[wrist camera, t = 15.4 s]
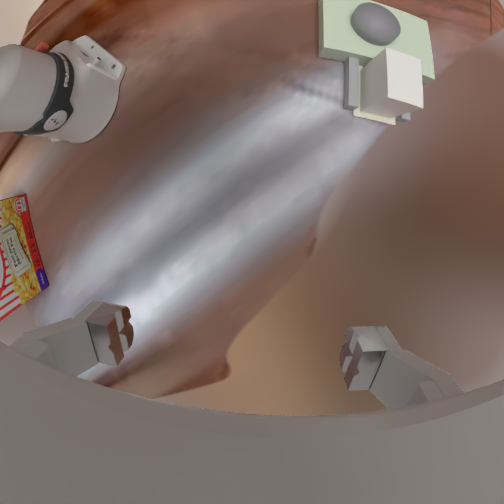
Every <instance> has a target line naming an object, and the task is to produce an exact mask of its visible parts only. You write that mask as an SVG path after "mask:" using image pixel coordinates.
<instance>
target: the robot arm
mask: <svg viewBox="0 0 504 504" xmlns="http://www.w3.org/2000/svg"><path fill="white" fill-rule="evenodd" d="M48 48H49V46H48V44H47V43H45V42H43V41H41V42H40V43H39V44H38V46H37V47H36V48H35V49H34V50H32V49H29V48H26V47H23V46H20V45H16V44H11V45H7V46H4V47H1V48H0V132H15V133H17V134H23V135H34V136H39V137H45V138H50V140H51V141H52V142H61V141H64V140H65V141H69V142H72V143H83V142H86V141H89V140H91V139H92V138H94V137H95V136H97V135H98V134H99V133H100V132H101V131H102V130H103V129H104V128H105V126H106V125H107V124H108V122H109V120H110V119H111V117H112V115H113V113H114V110H115V108H116V105H117V101H118V94H119V85H120V82H121V80H122V78H123V76H124V73H125V70H126V67H125V65H124V64H123V63H122V62H120V61H119V60H118V59H117V58H115V57H114V56H113V55H112V54H111V53H109V52H108V51H107V50H106V49H104V48H103V47H102V46H101V45H99V44H98V43H97V42H95V41H94V40H93V39H92V38H90V37H89V36H86V35H84V36H81V37H79V38H77V39H76V40H74V41H73V42H71V41H68V40H66V41H63V42H61V43H59V44H58V45H56V46H55V47H54V48H53V49H52V50H50V52H45V51H46V50H47V49H48ZM44 52H45V53H44ZM114 66H116V67H115V68H114ZM130 318H131V314H130V309H129V308H128V307H127V306H122V305H117V304H112V303H107V302H103V301H97V300H96V301H92V302H91V303H90V304H89V305H88V306H87V307H86V308H85V309H84V310H83V311H81V312H80V313H79V314H78V315H77V316H76V317H75V318H74V319H72V318H70V319H66V320H63V321H60V322H57V323H54V324H51V325H48V326H44V327H41V328H38V329H35V330H32V331H29V332H26V333H23V334H22V335H21V336H20V337H19V338H18V339H17V340H16V341H15V342H13V343H12V344H11V345H10V346H7V345H6V344H4V343H2V342H0V504H504V379H503V380H501V381H498V382H495V383H493V384H490V385H487V386H484V387H481V388H478V389H475V390H472V391H469V392H465V393H463V391H462V390H461V388H460V387H459V385H458V384H457V382H456V381H455V379H454V378H453V376H452V375H450V374H448V373H447V372H445V371H443V370H441V369H439V368H437V367H436V366H434V365H432V364H430V363H428V362H427V361H425V360H423V359H421V358H419V357H418V356H416V355H414V354H412V353H411V352H409V351H407V350H402V349H401V348H400V346H399V344H398V343H397V341H396V340H395V338H394V337H393V335H392V333H391V332H390V330H389V329H388V327H386V326H373V327H349V328H348V329H347V331H346V335H345V338H346V340H347V342H346V343H345V344H344V345H343V346H342V349H341V353H340V366H341V370H342V371H344V372H345V373H346V374H345V377H344V379H345V382H346V385H347V388H348V390H369V391H370V392H371V393H372V394H373V395H375V396H376V397H377V398H378V399H379V400H380V401H381V402H382V403H383V404H384V405H385V406H387V407H388V408H389V409H388V410H380V411H374V412H364V413H354V414H342V415H320V416H280V415H279V416H278V415H258V414H244V413H233V412H224V411H215V410H208V409H201V408H194V407H188V406H183V405H177V404H172V403H167V402H162V401H157V400H153V399H149V398H144V397H140V396H136V395H133V394H129V393H125V392H122V391H118V390H115V389H111V388H108V387H105V386H102V385H99V384H96V383H93V382H90V381H87V380H84V379H81V378H78V377H76V376H78V375H79V374H81V373H83V372H85V371H86V370H88V369H90V368H91V367H93V366H95V365H96V364H98V362H99V363H103V364H107V365H111V366H115V367H117V366H118V365H119V363H120V362H121V360H122V359H123V357H124V353H123V352H124V351H126V350H128V349H129V348H130V347H131V345H132V342H133V338H134V332H133V326H132V325H131V324H130V323H129V319H130Z"/></svg>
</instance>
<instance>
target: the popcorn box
mask: <svg viewBox="0 0 504 504" xmlns="http://www.w3.org/2000/svg"><path fill="white" fill-rule="evenodd" d="M48 286H49V284H48V281H47V279H46V275H45V272H44V269H43V266H42V262H41V259H40V256H39V252H38V248H37V244H36V241H35V236H34V232H33V228H32V224H31V219H30V214H29V209H28V203H27V197H26V194H23V195H19V196H15V197H11V198H7V199H3V200H0V321H1V320H2V319H3V318H5V317H6V316H7V315H9V314H10V313H12V311H14V310H16V309H17V308H18V307H20V306H21V305H22V304H24V303H25V302H27V301H28V300H29V299H31V298H32V297H34V296H35V295H37V294H38V293H39V292H41V291H42V290H44V289H45V288H47V287H48Z"/></svg>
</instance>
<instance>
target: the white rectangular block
mask: <svg viewBox="0 0 504 504" xmlns="http://www.w3.org/2000/svg"><path fill="white" fill-rule="evenodd" d="M360 77H361V89H360V111H361V112H365V113H370V114H374V115H378V116H382V117H386V118H393V117H396V116H399V115H402V114H406V113H409V112H412V111H416V110H419V109H423V85H422V70H421V60H420V59H418V58H415V57H413V56H410V55H407V54H404V53H402V52H399V51H396V50H393V49H390V48H385V49H383V50H382V51H381V52H380V53H379V54H378V55H377V56H376V57H374V58H373V59H372V60H371V61H370V62H369V63H368V64H367V65H366V66H365V67H363V68H362V69H361V70H360Z"/></svg>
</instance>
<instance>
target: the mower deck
mask: <svg viewBox="0 0 504 504" xmlns="http://www.w3.org/2000/svg"><path fill="white" fill-rule="evenodd" d="M318 8H319V57H321V58H327V59H332V60H337V61H342V62H344V109H349V110H353V116H356V117H361V118H365V119H370V120H374V121H378V122H383V123H387V124H391V125H395V120H396V121H400V122H406V121H410V112H409V113H406V114H402V115H399V116H396V117H393V118H386V117H382V116H378V115H374V114H370V113H365V112H361V111H360V89H361V77H360V70H361V69H362V68H363V67H365V66H366V65H367V64H368V63H369V62H370V61H371V60H372V59H373V58H374V57H376V56H377V55H378V54H379V53H380V52H381V51H382V50H383V49H385V48H390V49H393V50H396V51H399V52H402V53H404V54H407V55H410V56H413V57H415V58H418V59H420V60H421V70H422V85H423V84H425V83H428V82H430V81H432V80H435V76H434V65H433V56H432V49H431V42H430V36H429V30H428V24H427V21H425V20H423V19H420V18H418V17H416V16H413V15H411V14H408V13H406V12H403V11H401V10H398V9H395V8H392V7H389V6H387V5H384V4H381V3H377V2H374V1H371V0H319V1H318Z"/></svg>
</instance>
